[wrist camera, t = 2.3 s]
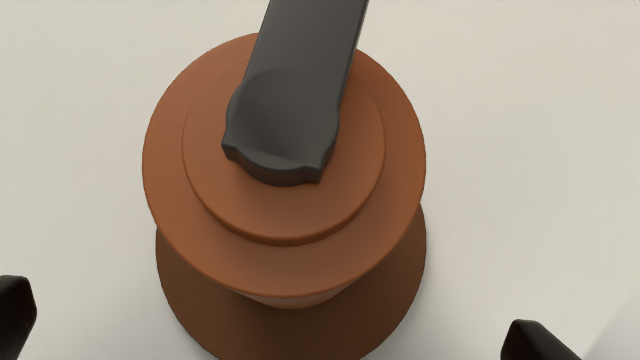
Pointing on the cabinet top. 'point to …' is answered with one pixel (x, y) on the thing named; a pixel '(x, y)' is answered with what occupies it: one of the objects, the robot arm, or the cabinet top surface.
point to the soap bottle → (286, 158)
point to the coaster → (297, 324)
